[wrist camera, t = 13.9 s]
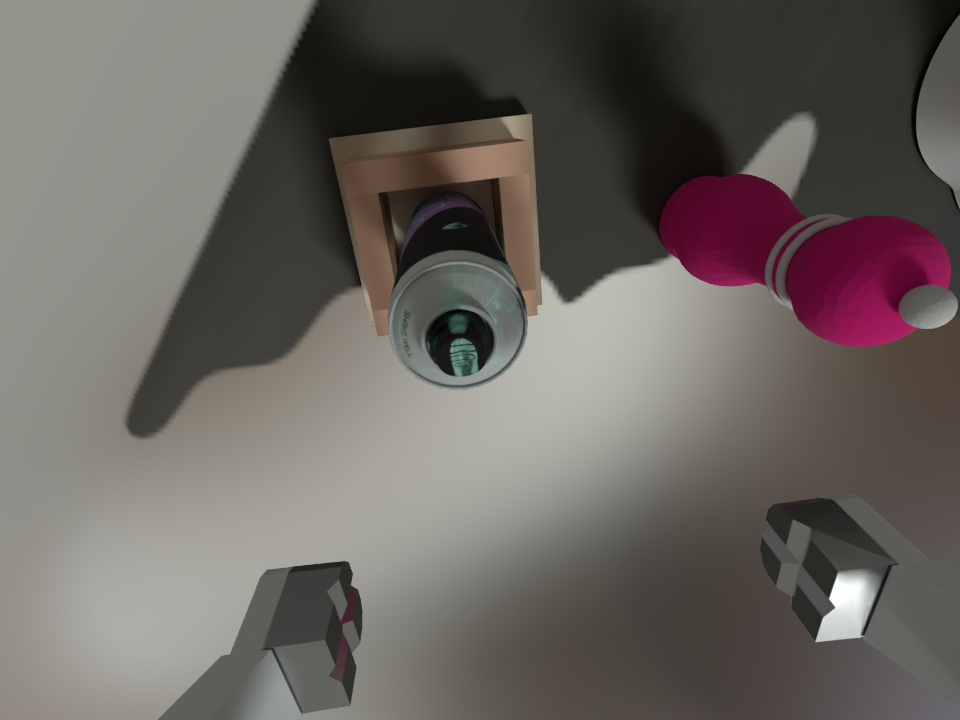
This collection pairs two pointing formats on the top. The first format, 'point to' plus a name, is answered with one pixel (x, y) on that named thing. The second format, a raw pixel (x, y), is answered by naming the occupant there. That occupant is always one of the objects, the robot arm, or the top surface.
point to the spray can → (455, 297)
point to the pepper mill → (812, 259)
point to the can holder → (433, 168)
